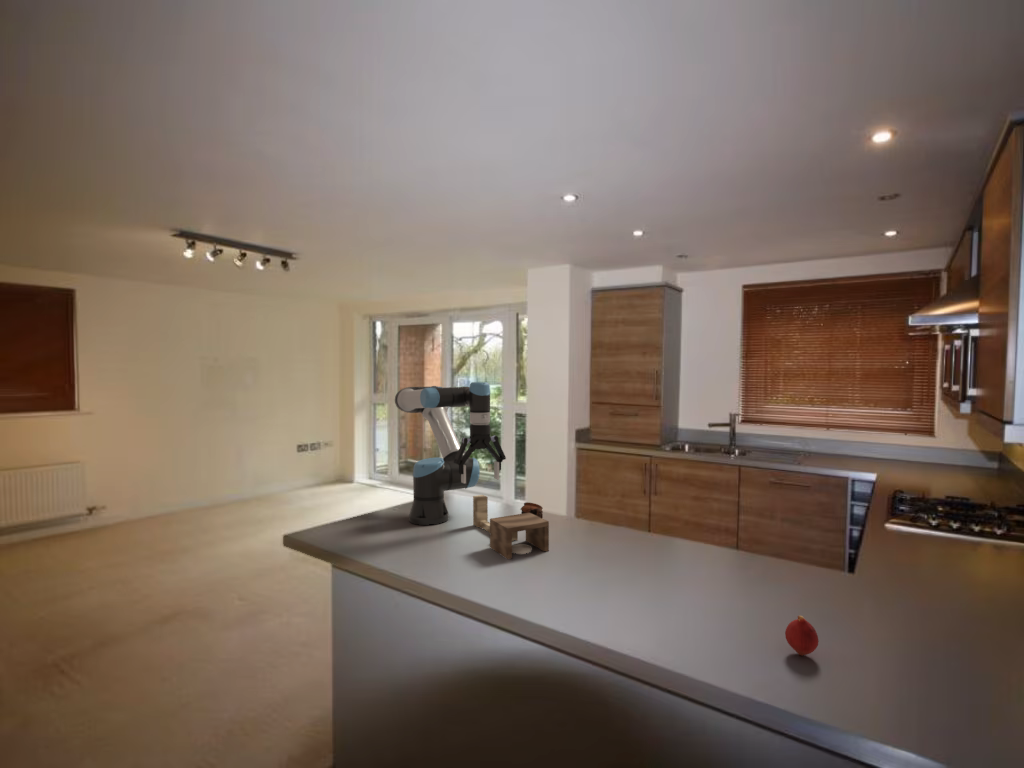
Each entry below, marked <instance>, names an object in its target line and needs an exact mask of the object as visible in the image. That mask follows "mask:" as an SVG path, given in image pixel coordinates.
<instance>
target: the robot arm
mask: <svg viewBox="0 0 1024 768" xmlns="http://www.w3.org/2000/svg"><path fill="white" fill-rule="evenodd" d="M490 387H491V385H490V383H489V382H487V381H484V382H483V381H479V382H478V381H474V382H470V384H469V386H458V387H457V386H453V387H451V386H450V387H449V386H448V387H442V386H438V385H437V386H436V385H433V386H408V387H404V388H401V389H399V390H398V392H397V393H396V394H395V396H394V404H395V407H396V408H398V410H400V411H401V412H404V413H407V414H408V413H409V414H416V413H417V414H420V413H421V415H422V417H423V418H424V419H425V420H427V421H428V423H429V426H430V428H431V431H432V433H433V436H434V438H435V439H434V440H435V441H436V444H437V446H438V449H439V451H440V454H441V456H442V457H428V458H424V459H420V460H418V461H416V462H415V463H414V465H413V470H412V471H413V472H412V480H413V482H412V483H413V486H412V487H413V488H412V489H413V492H412V493H413V494H412V495H413V502H412V505H411V508H410V510H409V515H408V521H410V522H409V523H411V524H414V525H417V524H419V525H420V526H430V525H429V524H434V525H439V523H440V524H443V523H445V521H446V522H447V521H448V520H449V519H448V518H449V511H448V507H447V505H446V502H445V492H446V491H454V490H462V489H463V490H464V489H465V490H466V489H469V488H473V487H476V485H477V484H478V482H479V479H480V471H481V470H480V469H481V468H480V463H479V461H478V459H477V458H475V457H471V455H473V452H475V450H481V449H482V450H487V451H488V452H489V453H490V455H491V456H492V457H493V458H494V459H495V460H494V461H493V471H494V472H493V474H494V475H493V476H494V477H493V479H495V480H498V481H499V480H500V471H501V470H502V462H503V460H507V457H506V455H505V452H504V451H503V448H502V446H501V444H500V442H499V436H498V435H493V434H492V436H491V425H490V423H491V388H490ZM458 407H459V408H461V407H469V423H470V425H469V435H470V436H469V437H462V438H461V442H460V441H459V439H458V436H457V434H456V432H455V430H454V427H453V424H452V423H451V420H450V418H449V416H448V413H447V412H448V410H449V408H458ZM491 441H492V443H493V445H494V447H495V449H494V448H493V446H492V445H491V444H490V442H491ZM460 443H461V444H460ZM469 443H470V445H469V446H468V444H469ZM467 447H468V448H467ZM466 449H467V450H466ZM442 522H443V523H442ZM419 525H418V526H419Z"/></svg>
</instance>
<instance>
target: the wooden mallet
mask: <svg viewBox="0 0 1024 768" xmlns="http://www.w3.org/2000/svg"><path fill="white" fill-rule="evenodd" d="M472 497H473V498H472V500H473V501H472V508H473V510H472V512H473V513H472V516H473V517H472V518H473V520H472V521H473V524H472V526H474V525H475V526H477V527H481V528H480V529H482V528H483V529H485V530H486V531H488V532H489V533H488V532H487V533H488V534H490V521H488V518H489V517H488V516H489V514H488V510H489V507H488V506H489V505H488V504H489V503H488V500H489V499H488V496H486V495H484V494H479V495H473V496H472ZM475 526H474V527H475ZM477 527H476V528H477ZM483 529H482V530H483ZM485 530H484V531H485ZM486 531H485V532H486ZM518 534H519V531H518V532H512V542H515V541H514V540H516V541H518V540H519V539H518Z"/></svg>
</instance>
